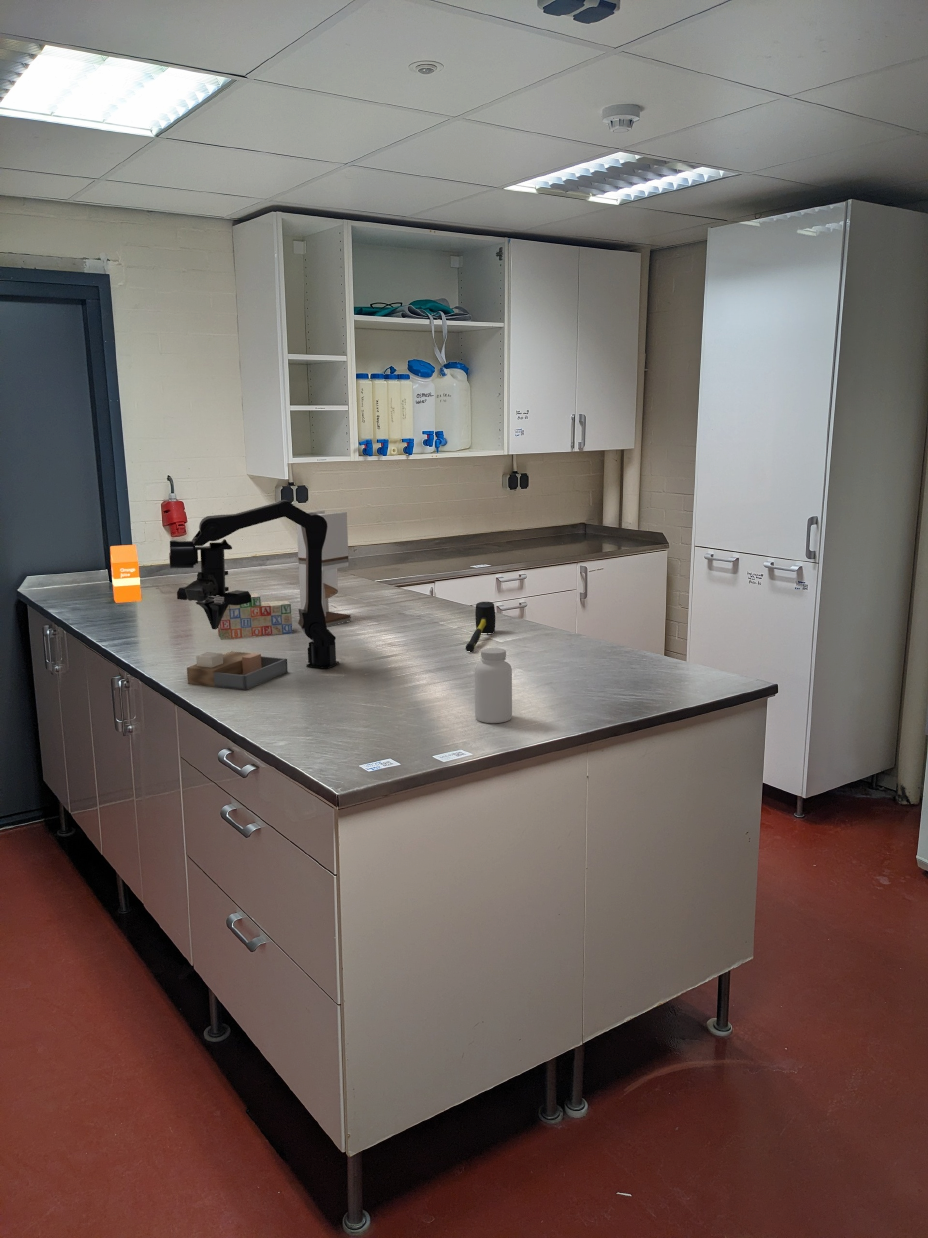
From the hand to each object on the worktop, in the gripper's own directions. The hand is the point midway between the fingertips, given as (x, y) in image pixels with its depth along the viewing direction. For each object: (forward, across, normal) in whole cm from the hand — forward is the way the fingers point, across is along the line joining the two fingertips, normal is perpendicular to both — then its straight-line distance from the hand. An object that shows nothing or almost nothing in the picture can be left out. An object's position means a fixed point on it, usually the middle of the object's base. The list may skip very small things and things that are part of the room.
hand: (214, 629), depth 237 cm
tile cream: (+8, +2, -5) cm, 9 cm away
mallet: (+10, +48, +58) cm, 76 cm away
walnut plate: (+12, +2, 0) cm, 12 cm away
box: (+12, +11, 0) cm, 16 cm away
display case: (+11, -8, +66) cm, 67 cm away
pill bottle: (+10, +78, -8) cm, 80 cm away
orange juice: (+13, -96, +75) cm, 123 cm away
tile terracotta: (+9, +7, +4) cm, 12 cm away
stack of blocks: (+12, -19, +43) cm, 49 cm away
